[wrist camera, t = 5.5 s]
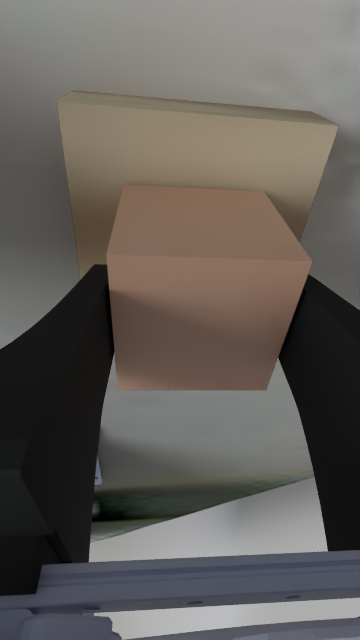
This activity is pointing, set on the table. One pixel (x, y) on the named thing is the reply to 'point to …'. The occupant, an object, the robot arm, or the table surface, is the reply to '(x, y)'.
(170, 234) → the terracotta cube
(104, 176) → the oak block
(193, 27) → the table surface
